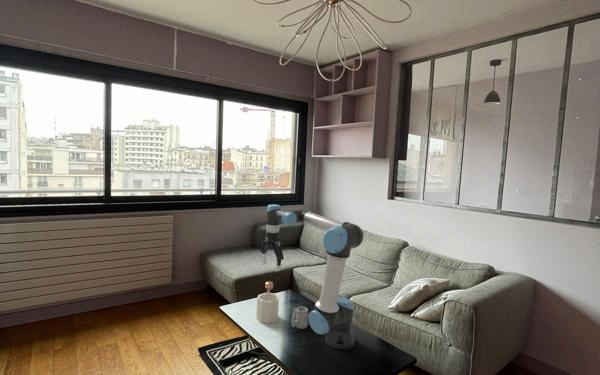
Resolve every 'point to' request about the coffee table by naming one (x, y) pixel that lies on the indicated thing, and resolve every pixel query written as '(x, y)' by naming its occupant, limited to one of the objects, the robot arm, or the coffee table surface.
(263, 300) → the octagonal white cup
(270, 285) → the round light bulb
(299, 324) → the mug
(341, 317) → the robot arm
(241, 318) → the coffee table surface
